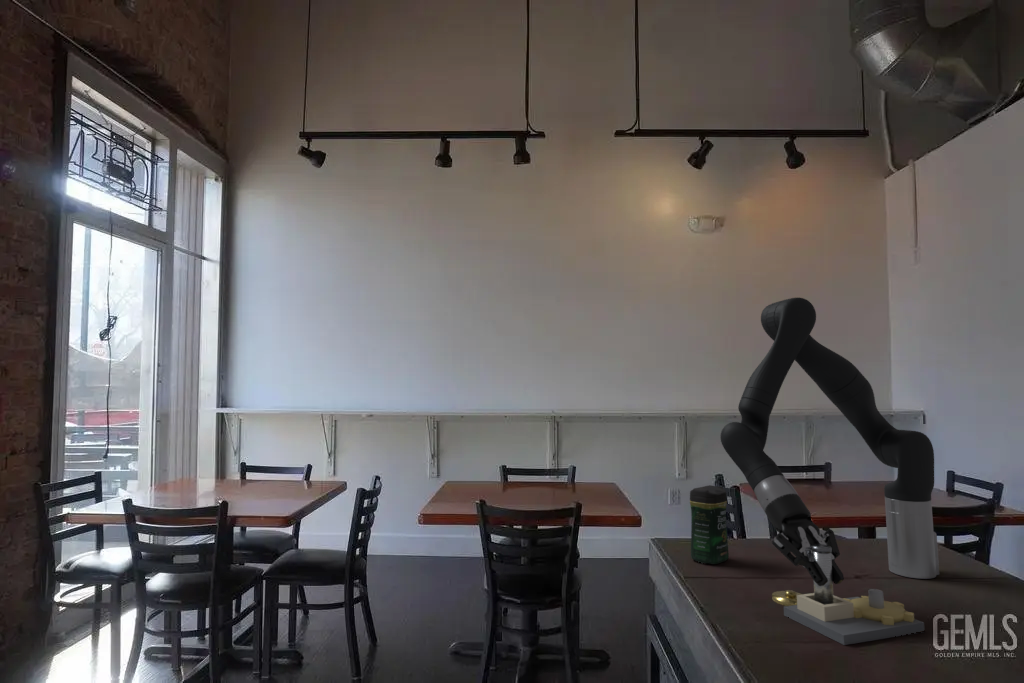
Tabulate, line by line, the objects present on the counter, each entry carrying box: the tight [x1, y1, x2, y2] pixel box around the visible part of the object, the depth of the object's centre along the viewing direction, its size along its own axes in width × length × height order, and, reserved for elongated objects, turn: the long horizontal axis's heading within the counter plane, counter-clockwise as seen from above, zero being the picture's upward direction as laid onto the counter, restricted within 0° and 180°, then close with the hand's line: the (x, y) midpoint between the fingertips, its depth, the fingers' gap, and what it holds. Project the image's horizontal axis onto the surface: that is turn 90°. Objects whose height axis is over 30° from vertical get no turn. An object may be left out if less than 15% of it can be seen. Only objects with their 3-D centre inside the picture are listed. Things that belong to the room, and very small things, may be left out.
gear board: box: [783, 588, 925, 646], centre depth 110 cm, size 20×14×6 cm
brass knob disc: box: [771, 589, 803, 607], centre depth 121 cm, size 7×7×2 cm
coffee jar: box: [689, 485, 730, 565], centre depth 151 cm, size 10×8×19 cm
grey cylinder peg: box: [811, 544, 834, 605], centre depth 111 cm, size 3×3×11 cm
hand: (831, 582), depth 109 cm, fingers closed on grey cylinder peg, 3 cm apart
